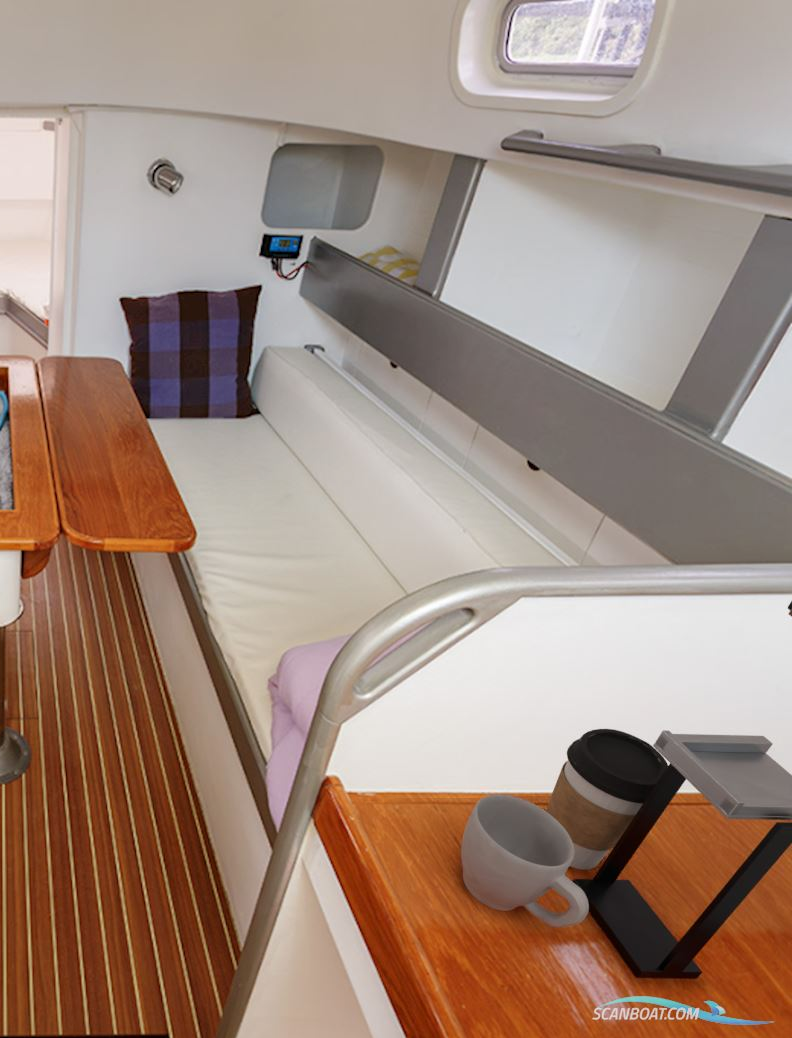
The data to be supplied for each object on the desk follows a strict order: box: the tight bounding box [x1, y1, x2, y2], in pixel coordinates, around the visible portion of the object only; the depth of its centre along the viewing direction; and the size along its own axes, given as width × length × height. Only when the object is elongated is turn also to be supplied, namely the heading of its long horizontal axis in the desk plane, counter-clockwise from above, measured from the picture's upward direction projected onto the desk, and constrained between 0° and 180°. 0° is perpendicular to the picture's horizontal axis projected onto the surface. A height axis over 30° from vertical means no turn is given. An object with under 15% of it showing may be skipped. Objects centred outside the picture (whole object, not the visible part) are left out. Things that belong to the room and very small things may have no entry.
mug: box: [460, 793, 589, 928], centre depth 75 cm, size 12×9×10 cm
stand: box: [571, 762, 792, 980], centre depth 69 cm, size 6×10×22 cm, turn 0°
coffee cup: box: [545, 728, 669, 871], centre depth 80 cm, size 8×8×15 cm
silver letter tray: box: [652, 729, 792, 821], centre depth 64 cm, size 10×8×2 cm
